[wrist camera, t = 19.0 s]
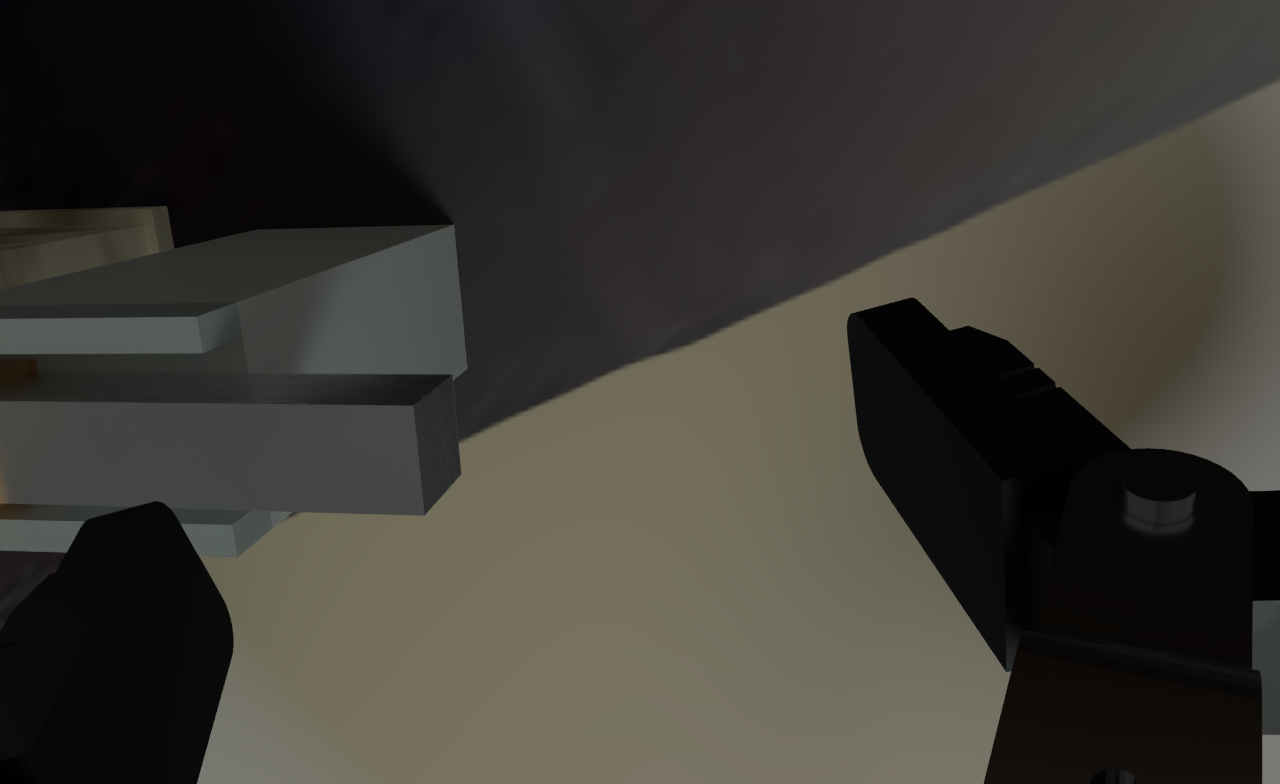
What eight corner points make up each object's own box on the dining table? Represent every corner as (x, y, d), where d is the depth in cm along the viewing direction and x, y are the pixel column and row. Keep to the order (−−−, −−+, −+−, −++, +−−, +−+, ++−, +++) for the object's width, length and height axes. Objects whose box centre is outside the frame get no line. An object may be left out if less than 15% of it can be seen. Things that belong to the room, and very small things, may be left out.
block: (-81, 474, 31) (-195, 522, 28) (-110, 358, 30) (-233, 392, 26) (462, 487, 28) (414, 542, 25) (451, 360, 27) (399, 399, 24)
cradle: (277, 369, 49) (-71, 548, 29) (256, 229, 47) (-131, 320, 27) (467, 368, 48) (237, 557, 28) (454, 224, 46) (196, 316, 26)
